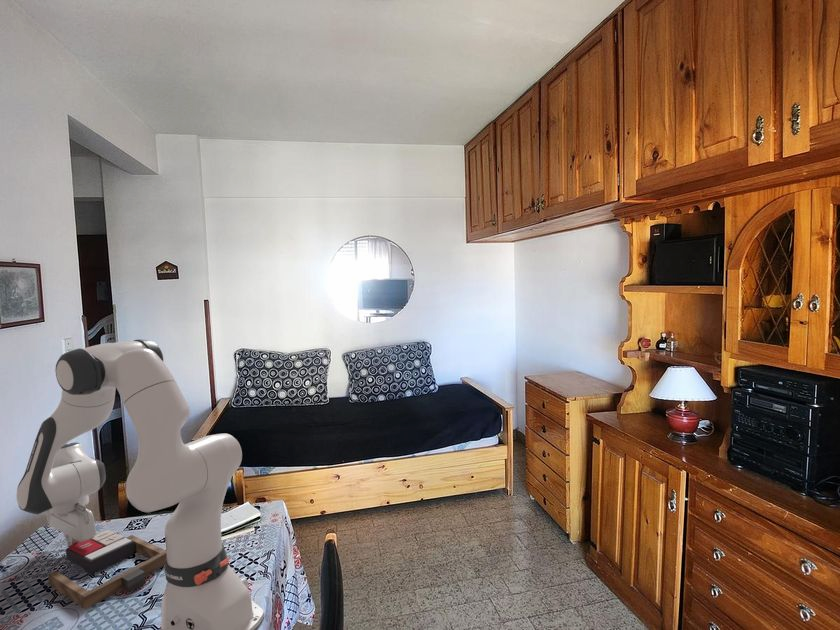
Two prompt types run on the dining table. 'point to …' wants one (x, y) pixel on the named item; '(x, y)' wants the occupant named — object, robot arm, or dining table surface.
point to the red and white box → (100, 551)
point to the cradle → (122, 581)
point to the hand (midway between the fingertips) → (73, 547)
